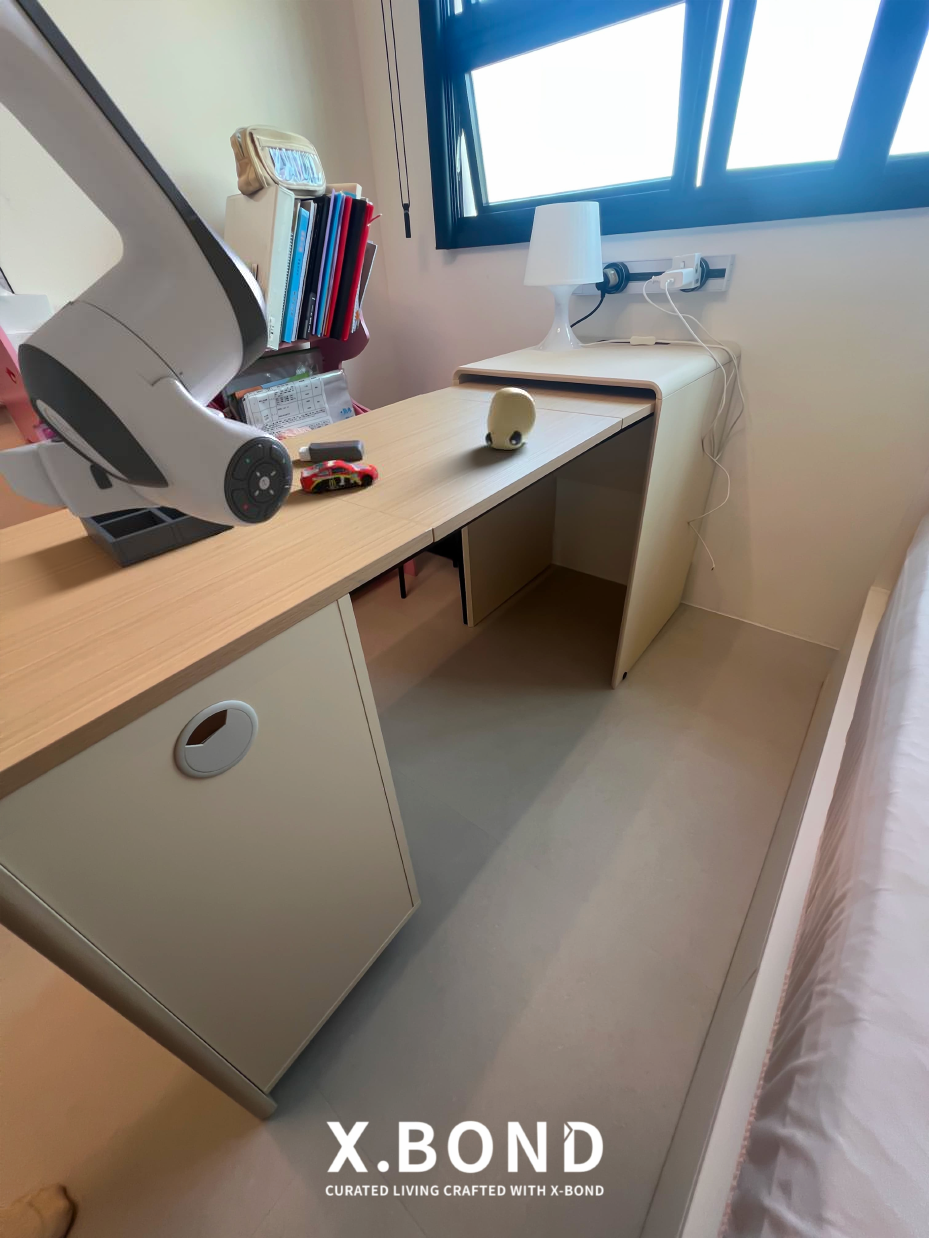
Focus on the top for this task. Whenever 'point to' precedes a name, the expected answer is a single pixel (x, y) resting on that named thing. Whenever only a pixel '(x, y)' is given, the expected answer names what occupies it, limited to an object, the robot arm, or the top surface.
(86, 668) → the top surface
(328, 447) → the usb drive
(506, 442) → the yellow toy head
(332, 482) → the race car
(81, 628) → the top surface
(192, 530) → the compartment tray
